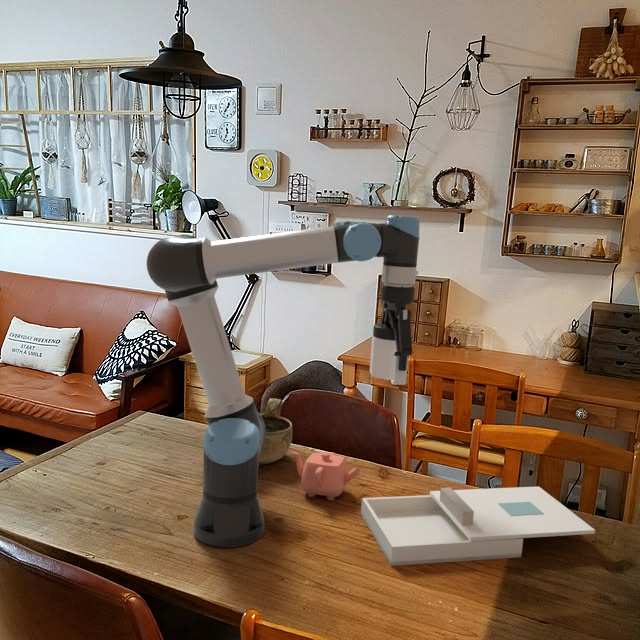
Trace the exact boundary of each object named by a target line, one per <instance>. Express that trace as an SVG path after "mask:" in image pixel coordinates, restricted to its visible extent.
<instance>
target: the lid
mask: <svg viewBox="0 0 640 640" xmlns="http://www.w3.org/2000/svg"><path fill="white" fill-rule="evenodd" d="M429 495H431V496H432V497H433V499H434V500H435V501H436V502H437V503H438V504H439V505H440V507H441V508H442V509H443V510H444V511H445V512H446V513H447V515H448V516H449V517H450V518H451V519H452V520H453V522H454V523H455V524H456V525H457V526H458V527H459V528H460V530H461V531H462V532H463V533H464V534H465V535H466V536H467V538H468V539H469V540H470V541H482V540H498V539H514V538H523V539H527V538H528V539H529V538H530V539H531V538H544V537H545V538H546V537H547V538H548V537H558V536H559V537H563V536H564V537H565V536H576V535H578V536H579V535H591V534H592V535H594V534H595V533H596V529H595V528H593V527H592V526H590V524H588V523H587V522H585V521H584V520H583V519H582V518H580V516H577V514H575V513H574V512H572V511H571V510H570V509H569V508H568V507H566V506H565V505H563V504H562V503H561V502H560V501H559V500H557V499H556V498H555V497H553V496H552V495H551V494H549V493H548V492H547V491H545V490H544V489H543V488H541V487H540V486H522V487H521V486H520V487H519V486H517V487H500V488H499V487H494V488H476V489H475V488H473V489H453V488H452V487H440V490H431V491H429Z"/></svg>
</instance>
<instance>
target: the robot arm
mask: <svg viewBox="0 0 640 640" xmlns="http://www.w3.org/2000/svg"><path fill="white" fill-rule="evenodd" d="M385 219H386V220H385V222H382V223H381V222H380V223H375V222H373V223H372V222H366V221H350V220H343V221H339V220H337V221H334V223H333V224H332V225H331V226H324V227H315V228H310V229H309V228H308V229H300V230H292V231H285V232H278V233H267V234H262V235H254V236H247V237H239V238H231V239H222V240H215V241H211V240H210V239H208V238H207V237H205V236H204V237H196V236H193V235H189V234H181V235H174V236H167V237H163V238H162V239H160V240H158V241H157V242H156V243H155V244H153V246H152V247H151V248H150V250H149V252H148V253H147V258H146V271H147V273H148V276H149V278H150V280H151V281H152V282H153V283H154V285H156V286H157V287H159V288H160V289H162V290H164V292H165V296H166V299H167V301H168V303H169V304H172V305H174V306H175V307H176V308H177V309H178V312H179V313H178V314H179V316H180V319H181V323H182V326H183V329H184V331H185V335H186V337H187V342H188V345H189V347H190V351H191V354H192V356H193V357H192V358H193V360H194V363H195V366H196V370H197V373H198V376H199V378H200V382H201V384H202V388H203V390H204V393H205V397H206V400H207V404H208V406H207V409H206V411H205V413H204V416H205V419H206V422H207V425H208V426H207V428H206V429H205V430H204V437H203V441H202V445H203V468H202V469H203V471H202V472H203V473H202V475H203V476H202V478H203V479H202V499H200V504H199V506H198V509H197V512H196V514H195V517H194V521H193V535H194V537H195V538H196V539H197V540H198V541H200V542H201V543H203V544H206V545H209V546H212V547H218V548H219V547H220V548H237V547H243V546H247V545H249V544H252V543H254V542H257V541H258V540H260V538H261V537H262V536H263V535H264V532H265V518H264V514H263V512H262V508H261V504H260V501H259V497H258V487H259V486H258V484H259V466H260V464H259V457H260V453H261V448H262V444H263V442H264V439H265V425H264V421H263V419H262V417H261V415H260V414H261V413H260V412H258V411H257V406H256V404H255V401H254V398H253V397H251V395H248V394H246V393H245V391H244V388H243V385H242V381H241V378H240V375H239V371H238V368H237V364H236V361H235V358H234V356H233V352H232V349H231V346H230V343H229V339H228V336H227V333H226V330H225V327H224V323H223V320H222V317H221V313H220V310H219V307H218V305H217V304H218V303H217V301H216V298H215V295H216V292H217V291H218V289H219V285H218V281H217V279H223V278H231V277H238V276H246V275H253V274H254V275H255V274H262V273H268V272H276V271H283V270H284V271H285V270H292V269H301V268H308V267H314V266H322V265H331V264H338V263H348V262H354V261H356V262H357V261H358V262H366V261H370V260H371V259H373V258H383V262H382V264H383V265H382V272H381V282H382V283H383V284H382V286H381V287H380V288H381V289H380V290H381V291H380V300H381V301H382V302H383V305H382V306H383V308H382V313H381V318H380V322H379V323H383V324H384V325H385V326H391V328H392V329H393V330H394V334H395V341H396V349H397V352H395V353H394V356H395V367H394V380H392V381H393V382H392V385H394V386H395V385H396V386H398V385H401V386H402V385H403V386H406V385H407V376H408V367H409V366H408V365H409V364H408V363H409V357H410V356H413V341H412V328H411V326H412V325H411V315H412V310H411V309H410V310H409V309H407V308H406V307H407V306H406V305H409V304H413V303H414V302H415V292H416V291H415V290H416V288H415V287H414V285H415V284H416V279H417V278H416V277H417V276H418V274H419V272H418V270H417V266H418V253H419V246H420V245H419V243H420V220H419V218H418V217H416V216H414V215H413V216H412V215H394V214H393V215H392V214H390V215H387V217H386V218H385Z"/></svg>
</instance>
